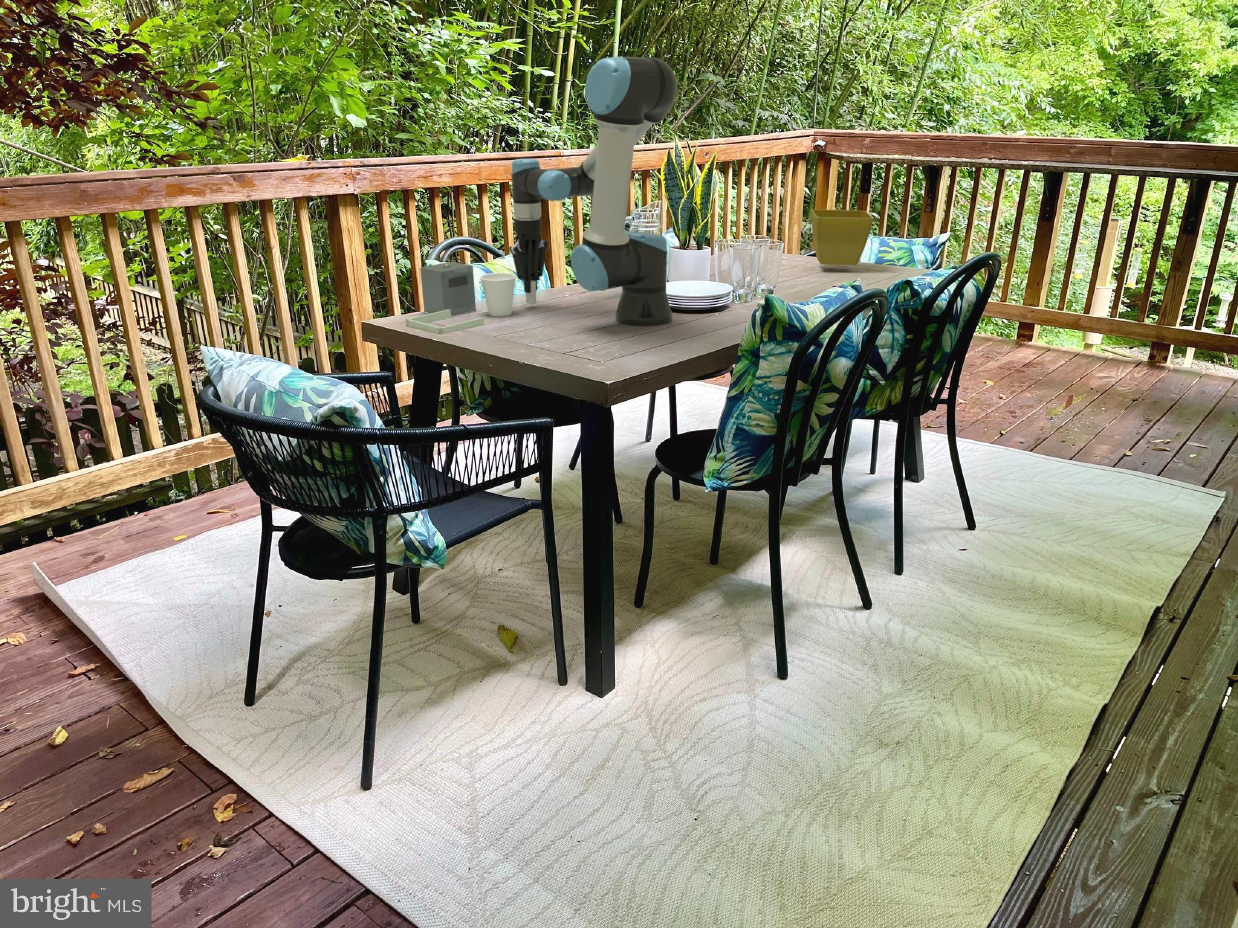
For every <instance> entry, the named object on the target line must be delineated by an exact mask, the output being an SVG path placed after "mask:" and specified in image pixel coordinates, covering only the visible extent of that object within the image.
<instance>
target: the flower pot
mask: <svg viewBox="0 0 1238 928" xmlns="http://www.w3.org/2000/svg"><path fill="white" fill-rule="evenodd" d="M810 217H811V218H810V219H811V230H812V241H813V246H814V247H813V248H814V251H815V256H816V259H817V261H818V263H819V264H820V265H826V266H827V265H828V266H829V265H831V266H833V265H834V266H857V265H858V264H859V262H860V260H861V258H862V256H863V253H864V251H865V248H866V245H867V243H868V240H869V237H870V233H871V230H872V226H873V222H874V217H873V216H872V215H871V214H870V213H869V212H868V211H866V210H858V209H857V210H854V209H853V210H852V209H848V210H847V209H811V211H810Z"/></svg>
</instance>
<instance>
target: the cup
mask: <svg viewBox="0 0 1238 928" xmlns="http://www.w3.org/2000/svg"><path fill="white" fill-rule="evenodd" d="M516 278H517V274H514V273H510V272H491V273H485V274H482V275H480V276H479V279H480V283H481V285H482V291H483V294H484V299H485V304H486V308H487V312H488V315H489V316H490V315H492V316H491V317H506V316H507V317H508V316H511V315H512V311H513V304H514V303H513V301H514V294H515V287H516V286H515V285H516Z"/></svg>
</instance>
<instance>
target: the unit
mask: <svg viewBox="0 0 1238 928" xmlns="http://www.w3.org/2000/svg"><path fill="white" fill-rule="evenodd" d="M419 269H420V271H419V272H420V280H421V290H422V301H423V311H424V312H428V313H435V312H439V311H444V310H448V309H450V310H451V315H453V316H457V315H456V314H458V315H462V314H461V313H463V314H466V313H465V312H468V313H470V312H469V311H473V312H477V307H476V293H475V291H476V290H475V280H474V279H475V276H474V266H473V265H472V264H471V265H470V264H468V263H467V264H466V263H462V262H457V261H448V262H444V263H443V262H441V263H438V264H432V265H428V266H427V265H426V266H420V268H419ZM428 313H427V314H428Z"/></svg>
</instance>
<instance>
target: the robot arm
mask: <svg viewBox="0 0 1238 928" xmlns="http://www.w3.org/2000/svg"><path fill="white" fill-rule="evenodd" d="M584 87H585V89H584V93H585V94H584V95H585V99H586V100H587V102H586V103H587V106H588V107H589V109H590V110H591V111H592V113H593V119H594V121H595V123H596V124H597V125H598V135H597V144H596V145H595V146H594V147H593V149H592V150H591V151H590V153H589V154H588V155H587V156H586V158H585V159H584V160H583V161H582V162H581V164H580V165H579V166H576V167H566V168H565V167H562V168H552V169H551V168H549V169H548V168H547V169H545V168H541V166H540V161H539V160H538V159H536V158H516V159H514V160H513V161H512V162H511V176H510V177H511V185H512V200H513V202H512V205H513V217H514V218H515V219H514V220H513V221H514V222H513V224H514V225H513V226H514V233H515V234H516V238H515V243H514V245H512V246H511V245H510V246H509V247H508V250H509V252H510V253H511V254H512V258H513V263H514V267H515V272H516V278H517V279H518V280H521V281H523V291H524V293H525V303H526V304H530V305H536V304H537V291H538V281H540V280H541V278H542V277H543V273H544V268H545V267H544V265H545V260H546V253H547V248H548V246H549V242H548V241H545V240H544V239H542V235H541V233H542V232H543V225H542V223H543V222H542V221H543V220H542V219H541V217H542V203H541V201H542V200H546V201H550V202H554V201H555V202H556V201H557V202H559V201H564V199H567V198H577V197H586V196H591V197H592V201H591V210H590V223H589V227H588V228H587V229H586V230H585V231H583V233H582V240H581V244H579V245H577V246H575V247H574V248H573V249H572V252H571V255H570V265H571V270H572V271H571V272H572V274H573V277H575V280H576V281H577V283H578V285H580V287H582V288H583V289H584V290H586V291H589V292H597V291H599V292H604V291H607V290H610V289H616V288H621V287H622V288H621V289H622V290H621V295H620V298H619V301H618V305H617V309H616V311H615V322H616V323H619V324H620V325H626V326H635V327H653V326H654V327H656V326H662V325H667V324H670V323H672V322H673V311H672V309H671V305H670V302H669V298H668V294H667V267H668V266H667V264H668V250H667V249H668V246H667V244H668V243H667V239H666V237H665V236H663V235H662V234H657V233H651V232H642V231H625V228H626V221H627V220H626V218H627V210H628V202H629V193H630V185H631V184H630V183H631V176H632V170H633V169H632V167H633V158H634V151H635V150H634V149H635V146H636V144H637V143H638V142H639V141H640V140H641V139H642V137H644V135H645V134H646V133H647V132H648V131H649V129H650V128H651V127H652V126H653V125H654V124H659V123H661V122H662V121H663V119H664V118H665V117H666V116H667V115H668V114H669V112H670V111H671V109H672V107H673V106H674V104H675V102H676V99H677V96H678V95H677V94H678V81H677V77H676V74H675V72H674V70H673V69H672V68H671V66H670V65H669V64H668V63H667V62H665V61H664V60H663V59H659V58H658V57H657V58H656V57H652V56H647V57H635V56H634V57H631V56H617V55H616V56H613V57H605V58H601V59H600V60H598V61H597V62H596V63H595V64H594V65H593V66H592V67H591V69H590V70H589V73H588V74H587V78H586V80H585V86H584Z"/></svg>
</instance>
